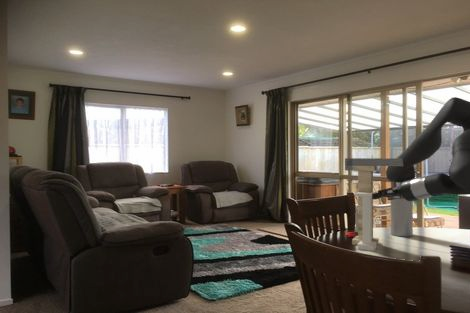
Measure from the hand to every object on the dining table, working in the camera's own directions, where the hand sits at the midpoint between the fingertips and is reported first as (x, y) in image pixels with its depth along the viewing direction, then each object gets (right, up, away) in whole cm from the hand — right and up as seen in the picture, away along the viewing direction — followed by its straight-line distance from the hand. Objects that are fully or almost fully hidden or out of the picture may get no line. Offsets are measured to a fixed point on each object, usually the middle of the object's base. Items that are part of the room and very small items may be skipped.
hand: (380, 197), depth 142 cm
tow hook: (-1, -21, +26) cm, 33 cm away
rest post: (-4, -20, +2) cm, 21 cm away
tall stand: (-2, -20, +10) cm, 23 cm away
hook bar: (+1, +12, +9) cm, 15 cm away
